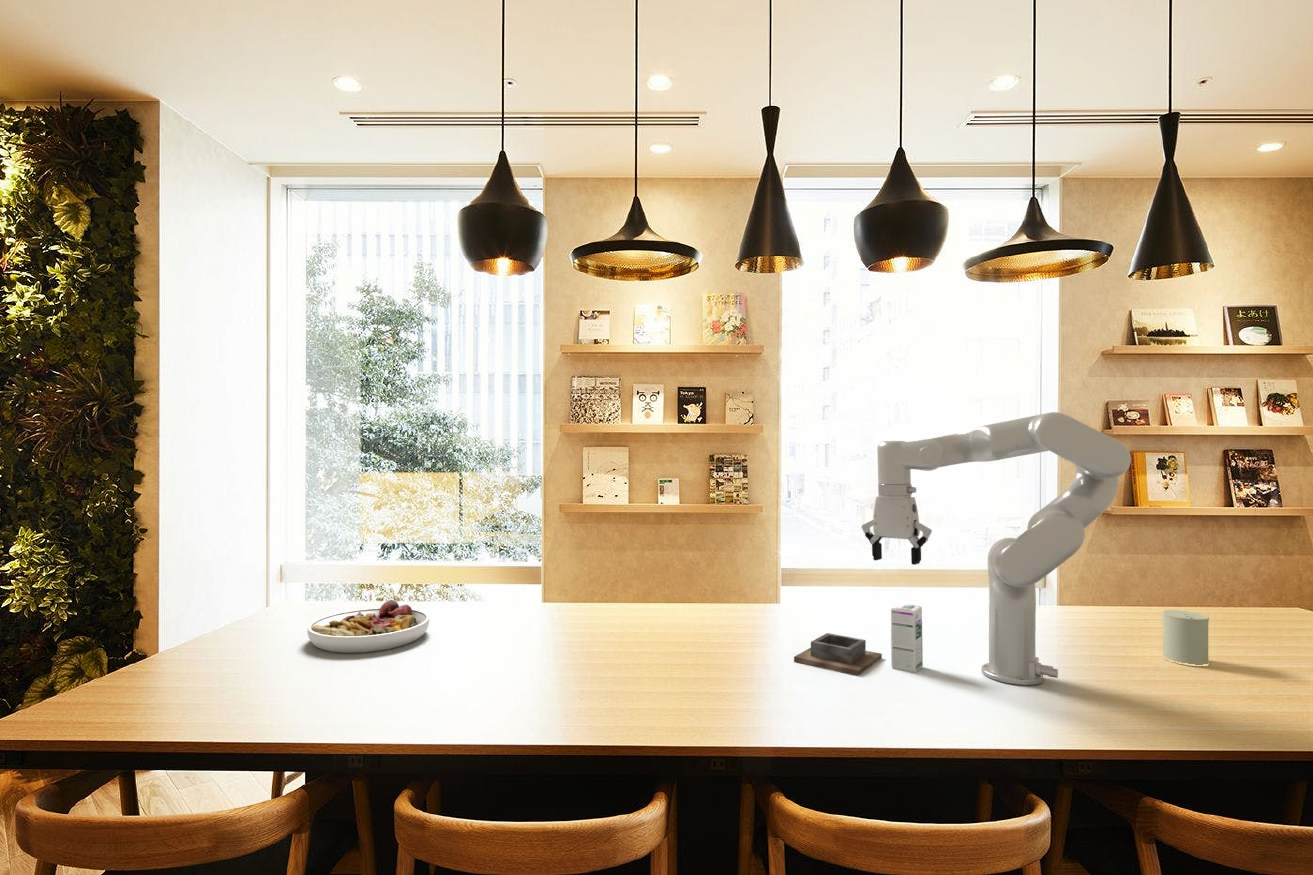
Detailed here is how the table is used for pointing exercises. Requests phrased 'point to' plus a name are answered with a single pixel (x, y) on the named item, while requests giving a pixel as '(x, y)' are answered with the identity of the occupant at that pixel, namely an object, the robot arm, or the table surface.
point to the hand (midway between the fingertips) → (896, 561)
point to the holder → (839, 654)
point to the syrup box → (906, 637)
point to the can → (1185, 637)
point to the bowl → (369, 629)
